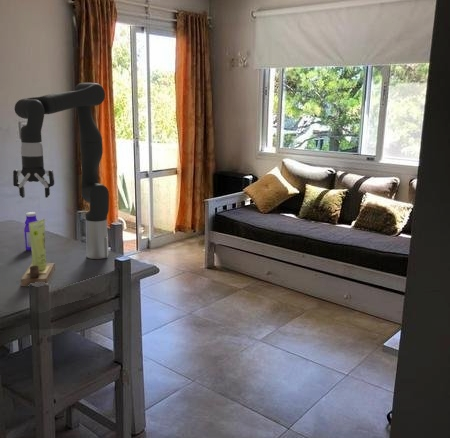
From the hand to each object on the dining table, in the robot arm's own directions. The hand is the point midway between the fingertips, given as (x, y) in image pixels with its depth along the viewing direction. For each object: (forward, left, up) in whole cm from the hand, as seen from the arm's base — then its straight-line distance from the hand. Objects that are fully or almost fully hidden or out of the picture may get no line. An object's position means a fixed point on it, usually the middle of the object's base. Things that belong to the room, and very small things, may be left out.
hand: (34, 197), depth 183 cm
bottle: (+10, -37, -32) cm, 50 cm away
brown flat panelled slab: (0, +1, -32) cm, 32 cm away
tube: (0, 0, -29) cm, 29 cm away
